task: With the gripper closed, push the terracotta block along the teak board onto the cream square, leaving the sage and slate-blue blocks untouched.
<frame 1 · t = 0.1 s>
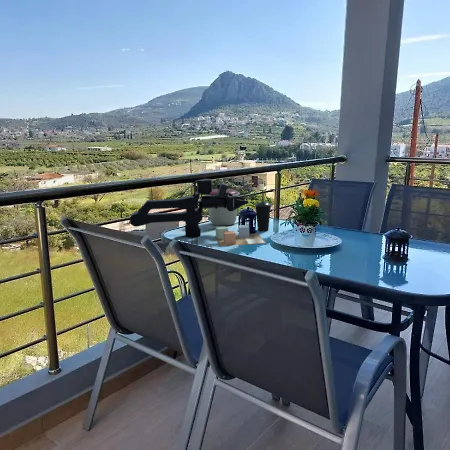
hand: (246, 200, 186), 17 cm above the table, tool horizontal, fingers open, 9 cm apart
board: (239, 242, 178), on the table
sage block: (222, 237, 182), point 1 cm above the table, touching board
terracotta block: (229, 242, 173), point 1 cm above the table, touching board
canister: (223, 224, 215), on the table
drinking cup: (263, 233, 194), on the table
slate block: (244, 236, 183), point 1 cm above the table, touching board
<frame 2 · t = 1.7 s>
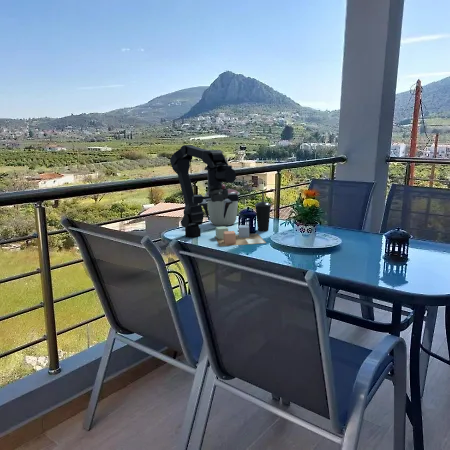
hand: (216, 218, 170), 12 cm above the table, tool pointing down, fingers open, 6 cm apart
nothing on the table moved.
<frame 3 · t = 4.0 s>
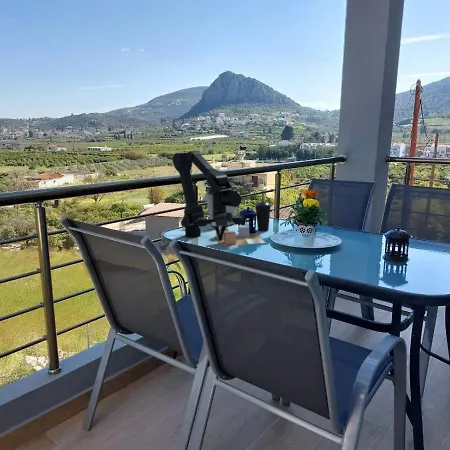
hand: (220, 240, 172), 2 cm above the table, tool pointing down, fingers closed
terracotta block: (230, 242, 173), point 1 cm above the table, touching gripper
everything else where it was.
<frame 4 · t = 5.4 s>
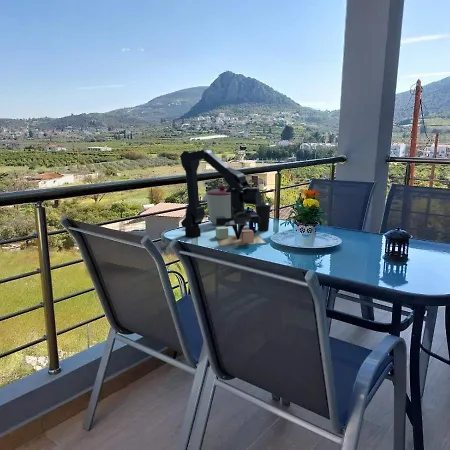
hand: (237, 239, 173), 2 cm above the table, tool pointing down, fingers closed
terracotta block: (247, 241, 174), point 1 cm above the table, touching gripper
everything else where it was.
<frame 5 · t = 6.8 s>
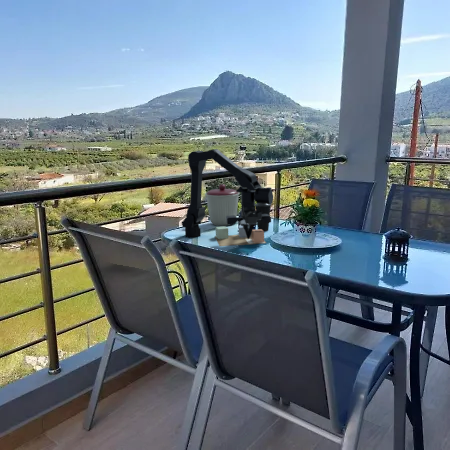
hand: (248, 238, 174), 2 cm above the table, tool pointing down, fingers closed
terracotta block: (257, 240, 175), point 1 cm above the table, touching board, gripper
everything else where it was.
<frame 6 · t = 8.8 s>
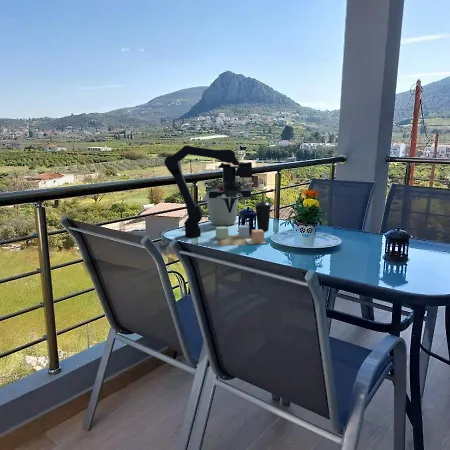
hand: (229, 212, 183), 12 cm above the table, tool pointing down, fingers closed
terracotta block: (257, 240, 175), point 1 cm above the table, touching board
everything else where it was.
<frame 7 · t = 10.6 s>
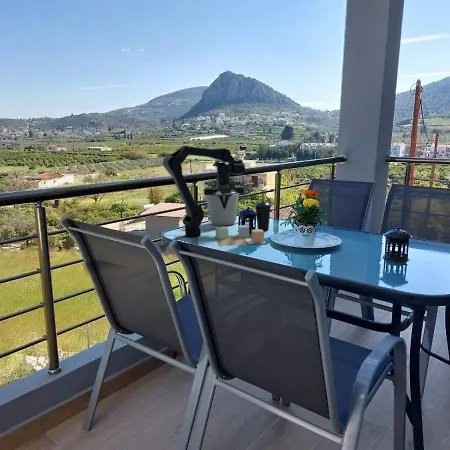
hand: (224, 208, 192), 12 cm above the table, tool pointing down, fingers closed
nothing on the table moved.
at the end: terracotta block inside the target area on the board (1.0 cm from its centre), point 1.2 cm above the board's base; sage block moved 0.0 cm from its start; slate block moved 0.0 cm from its start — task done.
